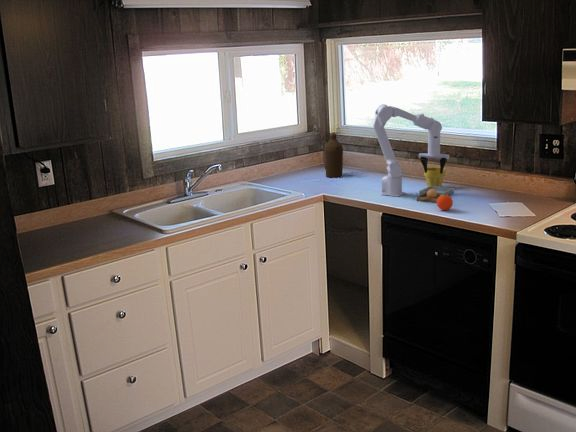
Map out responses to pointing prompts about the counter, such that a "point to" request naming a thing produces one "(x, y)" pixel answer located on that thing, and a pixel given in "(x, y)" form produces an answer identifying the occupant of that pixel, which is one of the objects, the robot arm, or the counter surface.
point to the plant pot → (434, 176)
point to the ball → (432, 193)
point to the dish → (439, 190)
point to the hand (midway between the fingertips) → (433, 172)
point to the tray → (427, 198)
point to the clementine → (444, 202)
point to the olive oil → (333, 157)
